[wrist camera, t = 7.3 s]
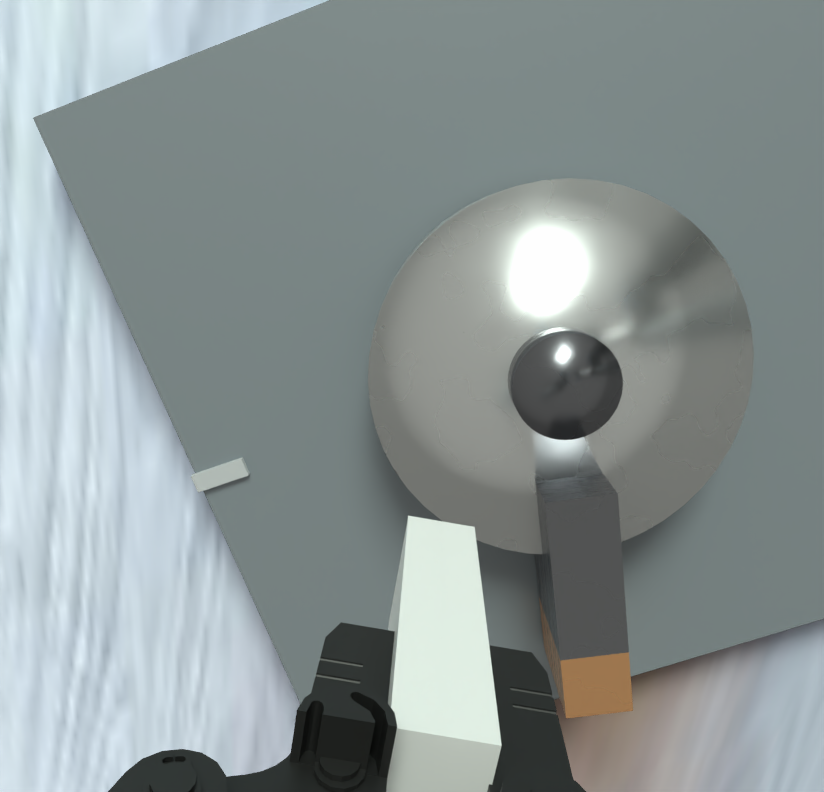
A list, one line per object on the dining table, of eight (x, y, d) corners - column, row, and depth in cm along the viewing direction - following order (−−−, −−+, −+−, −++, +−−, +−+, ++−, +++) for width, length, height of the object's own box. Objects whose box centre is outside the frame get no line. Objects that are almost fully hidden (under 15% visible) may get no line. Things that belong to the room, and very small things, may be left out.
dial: (346, 210, 21) (332, 208, 17) (717, 156, 20) (781, 143, 17) (416, 662, 24) (417, 735, 21) (731, 624, 24) (785, 692, 21)
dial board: (817, -175, 20) (856, -213, 18) (948, 551, 25) (987, 576, 24) (55, 125, 22) (24, 117, 20) (331, 738, 27) (325, 773, 26)
